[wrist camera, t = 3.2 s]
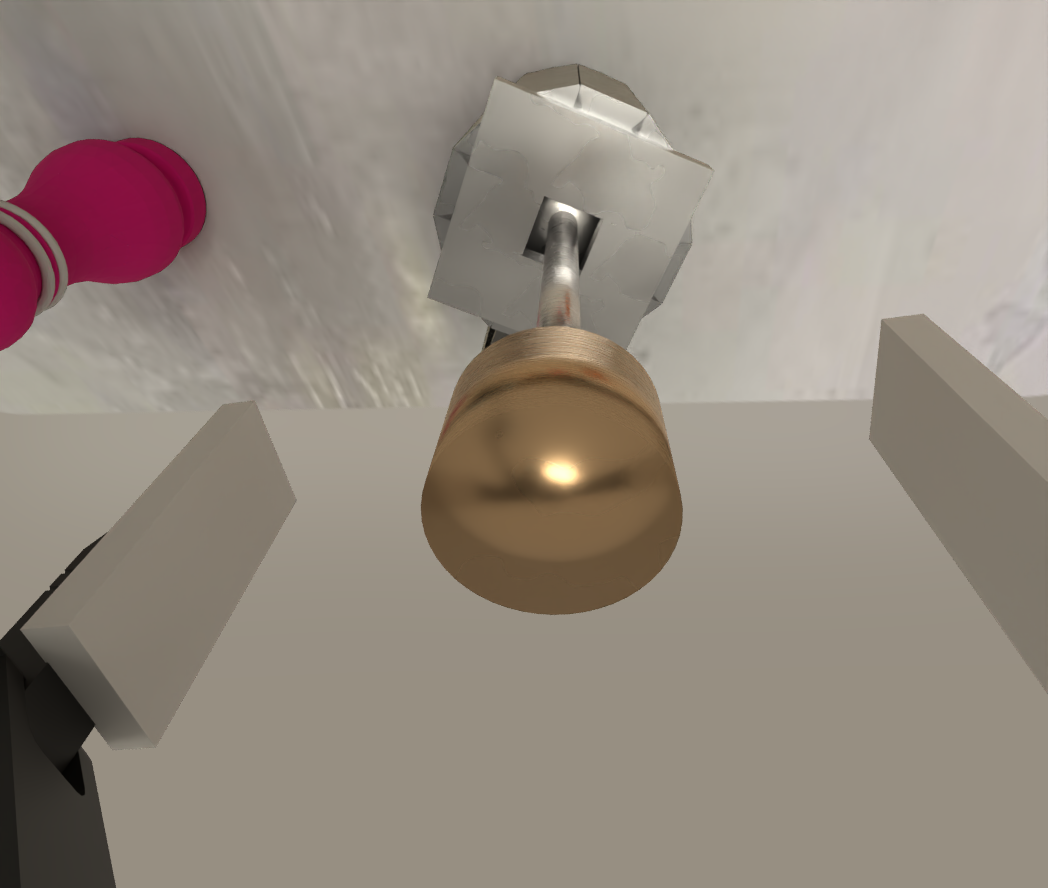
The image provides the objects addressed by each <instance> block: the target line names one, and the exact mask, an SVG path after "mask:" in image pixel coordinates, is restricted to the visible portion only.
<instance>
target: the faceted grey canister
mask: <svg viewBox="0 0 1048 888" xmlns="http://www.w3.org/2000/svg"><path fill="white" fill-rule="evenodd" d="M713 173H714V170H713V169H712V168H711V167H710V166H709V165H708V164H705V163H703V162H701V161H698V160H696V159H693V158H691V157H689V156H686V155H684V154H682V153H679V152H677V151H674V150H673V149H672V148H671V146H670V145H669V143H668V142H667V140H666V139H665V137H664V136H663V134H662V133H661V131H660V130H659V128H658V127H657V125H656V124H655V122H654V121H653V119H652V118H651V116H650V115H649V113H648V112H647V111H646V109H645V108H644V107H643V106H642V104H641V103H640V102H639V100H638V99H637V98H636V97H635V95H634V94H633V93H632V91H631V90H630V89H629V87H628V86H627V85H626V84H624V83H622V82H619V81H617V80H615V79H613V78H610V77H608V76H607V75H605V74H603V73H600V72H598V71H595V70H592V69H589V68H587V67H585V66H582V65H580V64H578V66H577V64H572V65H567V66H560V67H552V68H548V69H544V70H540V71H535V72H530V73H526V74H525V75H523V76H522V77H521V78H520V79H519V80H518V81H517V82H516V83H513V82H511V81H508V80H506V79H504V78H501V77H499V76H497V77H496V78H495V79H494V82H493V85H492V89H491V92H490V95H489V98H488V102H487V105H486V108H485V111H484V114H483V115H482V116H481V117H480V118H479V119H478V120H477V122H476V123H475V124H474V125H473V126H472V127H471V128H470V129H469V131H468V132H467V133H466V134H465V135H464V136H463V137H462V138H461V140H460V141H459V142H458V143H457V144H456V145H455V146H454V148H453V149H452V153H451V156H450V160H449V163H448V167H447V170H446V173H445V177H444V180H443V184H442V187H441V191H440V194H439V197H438V201H437V204H436V208H435V211H434V216H433V217H434V221H435V226H436V230H437V234H438V239H439V243H440V247H441V255H440V258H439V261H438V264H437V268H436V271H435V274H434V277H433V281H432V284H431V287H430V290H429V294H428V297H427V298H430V299H433V300H435V301H438V302H441V303H443V304H446V305H449V306H451V307H454V308H457V309H460V310H462V311H465V312H468V313H470V314H473V315H476V316H479V317H481V318H482V319H483V320H484V321H485V322H486V323H487V325H488V329H487V333H486V336H485V340H484V344H483V347H482V351H483V350H484V349H485V348H487V347H488V346H490V345H491V344H493V343H495V342H496V341H498V340H500V339H502V338H504V337H506V336H508V335H511V334H514V333H517V332H520V331H523V330H527V329H532V328H536V327H537V318H538V309H539V300H540V291H541V282H542V274H543V265H544V256H545V255H543V254H541V253H538V252H535V251H533V250H530V249H528V248H525V247H526V244H527V241H528V239H529V236H530V233H531V231H532V228H533V225H534V223H535V220H536V217H537V215H538V212H539V209H540V206H541V204H542V201H543V198H544V196H546V197H548V198H551V199H553V200H556V201H558V202H561V203H563V204H566V205H568V206H571V207H573V208H576V209H578V210H581V211H583V212H586V213H588V214H591V215H593V216H596V217H598V218H600V220H599V222H598V224H597V227H596V229H595V231H594V234H593V236H592V238H591V241H590V243H589V246H588V248H587V250H586V253H585V255H584V257H583V260H582V262H581V264H580V267H579V291H580V327H581V329H582V330H586V331H589V332H592V333H595V334H598V335H600V336H603V337H605V338H607V339H609V340H611V341H613V342H614V343H616V344H618V345H619V346H621V347H622V348H624V349H625V350H626V349H627V347H628V345H629V343H630V341H631V339H632V337H633V335H634V333H635V331H636V329H637V327H638V325H639V323H640V321H641V319H642V318H643V317H644V316H646V315H647V314H648V313H650V312H651V311H653V310H654V309H656V308H657V307H658V306H660V305H661V303H663V301H664V299H665V297H666V295H667V293H668V291H669V289H670V287H671V285H672V283H673V281H674V279H675V277H676V275H677V273H678V271H679V269H680V267H681V265H682V263H683V261H684V259H685V257H686V255H687V253H688V251H689V249H690V247H691V243H692V230H691V218H692V216H693V214H694V212H695V210H696V207H697V205H698V203H699V201H700V199H701V197H702V195H703V193H704V191H705V189H706V187H707V185H708V183H709V181H710V179H711V177H712V175H713ZM482 351H481V352H482Z"/></svg>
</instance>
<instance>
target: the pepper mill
mask: <svg viewBox="0 0 1048 888" xmlns="http://www.w3.org/2000/svg"><path fill="white" fill-rule="evenodd" d="M205 214H206V204H205V198H204V194H203V190H202V187H201V185H200V183H199V181H198V179H197V177H196V175H195V173H194V172H193V171H192V169H191V168H190V167H189V166H188V164H187V163H186V162H185V161H184V160H183V159H182V158H181V157H180V156H179V155H177V154H176V153H175V152H174V151H172V150H171V149H169V148H167V147H166V146H164V145H162V144H160V143H157V142H155V141H152V140H148V139H143V138H128V139H124V140H120V141H117V142H112V141H107V140H100V139H86V140H80V141H76V142H73V143H70V144H68V145H66V146H63V147H61V148H59V149H57V150H54V151H52V152H51V153H50V154H49V155H47V156H46V157H45V158H44V159H43V160H42V161H41V162H40V163H39V164H38V165H37V166H36V167H35V169H34V170H33V172H32V173H31V175H30V177H29V179H28V182H27V184H26V186H25V188H24V190H23V191H22V192H21V193H20V194H19V195H17V196H16V197H14V198H12V199H10V200H8V201H6V202H5V201H2V200H0V351H1V350H3V349H5V348H8V347H9V346H11V345H12V344H13V343H15V342H16V341H17V340H19V339H20V338H21V337H22V336H23V335H24V334H25V333H26V332H27V330H28V329H29V328H30V326H31V325H32V323H33V320H34V317H35V316H37V315H39V314H40V313H42V312H43V311H45V310H47V309H49V308H51V307H53V306H55V305H56V304H57V303H58V302H59V301H60V300H61V298H62V297H63V295H64V293H65V291H66V289H67V286H68V285H71V284H74V283H77V282H84V281H92V282H99V283H109V284H119V283H128V282H136V281H139V280H142V279H144V278H147V277H149V276H152V275H154V274H156V273H158V272H161V271H162V270H163V269H165V268H166V267H167V266H168V265H169V264H170V263H171V262H172V261H173V260H174V258H175V257H176V256H177V254H178V252H179V250H180V248H181V247H183V246H185V245H186V244H188V243H190V242H191V241H192V240H193V239H195V238H196V236H197V235H198V234H199V232H200V231H201V229H202V227H203V224H204V220H205Z"/></svg>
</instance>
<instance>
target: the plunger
mask: <svg viewBox="0 0 1048 888" xmlns="http://www.w3.org/2000/svg"><path fill="white" fill-rule="evenodd" d="M599 220H600V218H598V217H596V216H593V215H591V214H588V213H586V212H583V211H581V210H578V209H576V208H573V207H571V206H568V205H566V204H563V203H561V202H558V201H556V200H553V199H551V198H548V197H546V196H544V198H543V201H542V204H541V206H540V209H539V212H538V215H537V217H536V220H535V223H534V225H533V228H532V231H531V233H530V236H529V239H528V241H527V244H526V247H525V248H528V249H530V250H533V251H535V252H538V253H541V254H543V255H545V256H544V265H543V274H542V282H541V291H540V300H539V309H538V318H537V327H536V328H532V329H527V330H523V331H520V332H517V333H514V334H511V335H508V336H506V337H504V338H502V339H500V340H498V341H496V342H495V343H493V344H491V345H490V346H488V347H487V348H485V349H484V350H483V351H482V352H481V353H480V354H478V355H477V356H476V357H475V358H474V359H473V360H472V361H471V363H470V364H469V365H468V366H467V367H466V369H465V370H464V372H463V373H462V375H461V377H460V378H459V380H458V382H457V385H456V387H455V389H454V392H453V395H452V398H451V401H450V405H449V408H448V411H447V414H446V417H445V421H444V424H443V427H442V430H441V433H440V437H439V440H438V443H437V446H436V449H435V453H434V456H433V459H432V462H431V465H430V468H429V472H428V475H427V478H426V481H425V485H424V489H423V493H422V502H421V515H422V523H423V527H424V532H425V535H426V537H427V540H428V543H429V545H430V547H431V549H432V550H433V552H434V554H435V556H436V558H437V559H438V560H439V561H440V563H441V564H442V565H443V567H444V568H445V569H446V570H447V571H448V572H449V573H450V574H451V575H452V576H453V577H454V578H455V579H456V580H457V581H458V582H460V583H461V584H462V585H464V586H465V587H466V588H468V589H469V590H471V591H472V592H474V593H476V594H477V595H479V596H481V597H483V598H485V599H487V600H489V601H491V602H493V603H496V604H499V605H501V606H504V607H507V608H511V609H515V610H519V611H523V612H530V613H536V614H550V615H557V614H573V613H581V612H586V611H591V610H595V609H599V608H602V607H605V606H608V605H611V604H614V603H616V602H618V601H620V600H622V599H625V598H627V597H628V596H630V595H632V594H633V593H635V592H636V591H638V590H640V589H641V588H642V587H643V586H645V585H646V584H647V583H649V582H650V581H651V580H652V579H653V578H654V577H655V576H656V575H657V574H658V573H659V572H660V571H661V569H662V568H663V567H664V565H665V564H666V563H667V561H668V560H669V558H670V556H671V555H672V552H673V551H674V549H675V547H676V544H677V542H678V539H679V536H680V531H681V526H682V512H683V508H682V501H681V494H680V490H679V485H678V481H677V477H676V472H675V468H674V464H673V459H672V454H671V450H670V446H669V441H668V437H667V432H666V428H665V424H664V419H663V415H662V411H661V406H660V402H659V398H658V395H657V392H656V389H655V387H654V385H653V383H652V381H651V378H650V377H649V375H648V374H647V372H646V371H645V369H644V368H643V367H642V365H641V364H640V363H639V362H638V361H637V360H636V359H635V358H634V357H633V356H632V355H631V354H630V353H628V352H627V351H626V350H625V349H624V348H622V347H621V346H619V345H618V344H616V343H614V342H613V341H611V340H609V339H607V338H605V337H603V336H600V335H598V334H595V333H592V332H589V331H586V330H582V329H581V327H580V291H579V267H580V264H581V262H582V260H583V257H584V255H585V253H586V250H587V248H588V246H589V243H590V241H591V238H592V236H593V234H594V231H595V229H596V227H597V224H598V222H599Z"/></svg>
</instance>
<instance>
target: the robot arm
mask: <svg viewBox="0 0 1048 888" xmlns="http://www.w3.org/2000/svg"><path fill="white" fill-rule="evenodd" d="M869 439H870V441H871V442H872V444H873V445H874V447H875V448H876V450H877V451H878V452H879V454H880V455H881V457H882V458H883V460H884V461H885V462H886V464H887V465H888V467H889V468H890V470H891V471H892V472H893V474H894V475H895V477H896V478H897V480H898V481H899V482H900V484H901V485H902V487H903V488H904V490H905V491H906V492H907V494H908V495H909V497H910V498H911V500H912V501H913V502H914V504H915V505H916V507H917V508H918V510H919V511H920V512H921V514H922V515H923V517H924V518H925V520H926V521H927V522H928V524H929V525H930V527H931V528H932V530H933V531H934V532H935V534H936V535H937V537H938V538H939V540H940V541H941V542H942V544H943V545H944V547H945V548H946V550H947V551H948V552H949V554H950V555H951V557H952V558H953V560H954V561H955V562H956V564H957V565H958V567H959V568H960V569H961V571H962V572H963V574H964V575H965V576H966V578H967V580H968V581H969V582H970V584H971V585H972V586H973V588H974V589H975V591H976V592H977V594H978V595H979V597H980V598H981V599H982V601H983V602H984V604H985V605H986V607H987V608H988V609H989V611H990V612H991V614H992V615H993V617H994V618H995V620H996V621H997V622H998V624H999V625H1000V626H1001V628H1002V630H1003V631H1004V632H1005V634H1006V635H1007V636H1008V638H1009V639H1010V641H1011V642H1012V644H1013V645H1014V647H1015V648H1016V650H1017V651H1018V652H1019V654H1020V655H1021V657H1022V658H1023V659H1024V661H1025V662H1026V664H1027V665H1028V667H1029V668H1030V670H1031V671H1032V672H1033V674H1034V675H1035V677H1036V678H1037V680H1038V681H1039V682H1040V684H1041V685H1042V687H1043V688H1044V690H1045V691H1046V692H1047V694H1048V419H1047V418H1046V417H1044V416H1043V415H1042V414H1041V413H1040V412H1038V411H1037V410H1036V409H1035V408H1033V407H1032V406H1031V405H1030V404H1029V403H1028V402H1027V401H1026V400H1024V399H1023V398H1022V397H1021V396H1020V395H1018V394H1017V393H1016V392H1015V391H1014V390H1013V389H1011V388H1010V387H1009V386H1008V385H1007V384H1006V383H1004V382H1003V381H1002V380H1001V379H1000V378H998V377H997V376H996V375H995V374H994V373H993V372H991V371H990V370H989V369H988V368H987V367H985V366H984V365H983V364H982V363H981V362H980V361H978V360H977V359H976V358H975V357H974V356H973V355H971V354H970V353H969V352H968V351H967V350H965V349H964V348H963V347H962V346H961V345H960V344H958V343H957V342H956V341H955V340H954V339H953V338H951V337H950V336H949V335H948V334H947V333H945V332H944V331H943V330H942V329H941V328H940V327H938V326H937V325H936V324H935V323H934V322H932V321H931V320H930V319H929V318H928V317H927V316H925V315H924V314H918V315H911V316H903V317H895V318H888V319H882V320H881V330H880V340H879V349H878V359H877V369H876V378H875V388H874V397H873V407H872V417H871V427H870V436H869ZM295 502H296V498H295V495H294V493H293V491H292V488H291V486H290V483H289V481H288V479H287V476H286V474H285V471H284V469H283V467H282V464H281V462H280V460H279V457H278V455H277V452H276V450H275V448H274V445H273V443H272V441H271V438H270V436H269V433H268V431H267V429H266V426H265V424H264V421H263V419H262V417H261V415H260V412H259V410H258V407H257V405H256V402H255V401H247V402H239V403H232V404H224V405H222V406H221V407H220V408H219V409H218V410H217V412H216V413H215V414H214V415H213V416H212V417H211V418H210V419H209V421H208V422H207V423H206V424H205V425H204V426H203V427H202V428H201V429H200V431H199V432H198V433H197V434H196V435H195V436H194V437H193V438H192V439H191V440H190V442H189V443H188V444H187V445H186V446H185V447H184V448H183V449H182V450H181V452H180V453H179V454H178V455H177V456H176V457H175V458H174V459H173V461H172V462H171V463H170V464H169V465H168V466H167V467H166V468H165V469H164V470H163V471H162V473H161V474H160V475H159V476H158V477H157V478H156V479H155V480H154V481H153V483H152V484H151V485H150V486H149V487H148V488H147V489H146V490H145V491H144V493H143V494H142V495H141V496H140V497H139V498H138V499H137V500H136V501H135V503H134V504H133V505H132V506H131V507H130V508H129V509H128V510H127V512H126V513H125V514H124V515H123V516H122V517H121V518H120V519H119V520H118V522H117V523H116V524H115V525H114V526H113V527H112V528H111V529H110V530H109V531H108V532H107V533H106V534H104V535H103V536H102V537H100V538H99V539H97V540H96V541H95V542H93V543H92V544H90V545H89V546H88V547H86V548H85V549H83V551H82V552H81V553H80V554H79V555H78V556H77V557H76V558H75V559H74V561H72V563H71V564H70V565H69V566H68V567H67V568H66V569H65V574H61V575H60V576H59V577H58V578H57V579H56V580H55V581H54V582H53V583H52V584H51V586H50V590H49V591H45V592H44V593H43V594H42V595H41V596H40V598H39V599H38V600H37V601H36V602H35V603H34V604H33V605H32V606H31V607H30V608H29V610H28V611H27V612H26V613H25V614H24V615H23V616H22V617H21V618H20V619H19V620H18V621H17V623H16V624H15V625H14V626H13V627H12V628H11V629H10V630H9V631H8V632H7V634H6V635H5V636H4V637H3V638H2V639H1V640H0V888H116V885H115V880H114V876H113V870H112V864H111V859H110V854H109V849H108V844H107V838H106V833H105V828H104V823H103V818H102V812H101V807H100V802H99V797H98V792H97V786H96V781H95V776H94V771H93V766H92V761H91V759H90V758H89V756H88V755H87V753H86V752H85V751H84V749H83V748H82V747H81V746H82V744H83V742H84V741H85V740H86V738H87V737H88V735H89V734H90V732H91V731H92V729H93V728H94V727H95V728H96V729H97V730H98V732H99V733H100V734H101V736H102V737H103V738H104V740H105V741H106V742H107V744H108V745H109V746H110V747H111V749H112V750H122V749H140V748H155V747H156V746H157V744H158V743H159V741H160V739H161V737H162V736H163V734H164V732H165V730H166V729H167V727H168V725H169V723H170V722H171V720H172V718H173V716H174V715H175V713H176V711H177V709H178V708H179V706H180V704H181V702H182V701H183V699H184V697H185V695H186V694H187V692H188V690H189V688H190V686H191V685H192V683H193V681H194V679H195V678H196V676H197V674H198V672H199V671H200V669H201V667H202V665H203V664H204V662H205V660H206V659H207V657H208V655H209V653H210V652H211V650H212V648H213V646H214V644H215V643H216V641H217V639H218V637H219V636H220V634H221V632H222V630H223V628H224V627H225V625H226V623H227V622H228V620H229V618H230V616H231V615H232V613H233V611H234V609H235V608H236V606H237V604H238V602H239V600H240V599H241V597H242V595H243V593H244V592H245V590H246V588H247V587H248V585H249V583H250V581H251V580H252V578H253V576H254V574H255V572H256V571H257V569H258V567H259V565H260V564H261V562H262V560H263V559H264V557H265V555H266V553H267V551H268V550H269V548H270V546H271V544H272V543H273V541H274V539H275V537H276V536H277V534H278V532H279V530H280V529H281V527H282V525H283V523H284V522H285V520H286V518H287V516H288V515H289V513H290V511H291V509H292V508H293V506H294V504H295Z"/></svg>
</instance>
